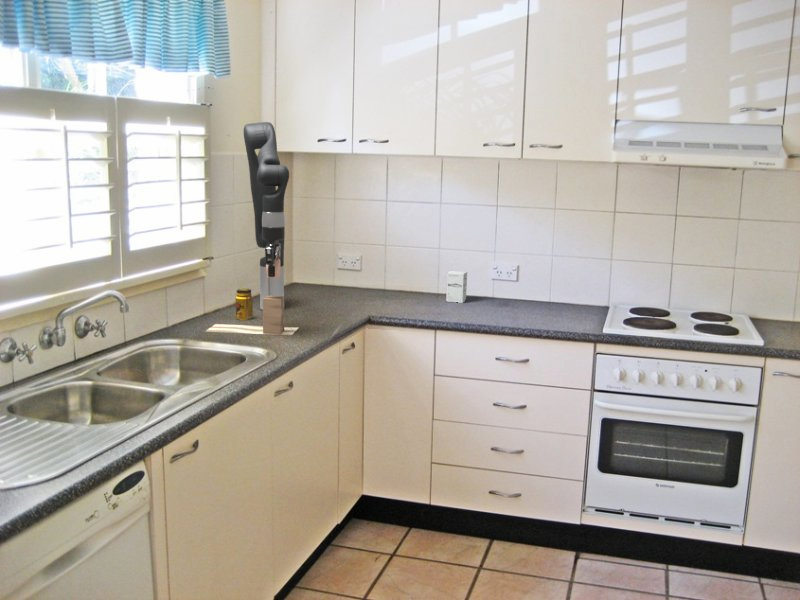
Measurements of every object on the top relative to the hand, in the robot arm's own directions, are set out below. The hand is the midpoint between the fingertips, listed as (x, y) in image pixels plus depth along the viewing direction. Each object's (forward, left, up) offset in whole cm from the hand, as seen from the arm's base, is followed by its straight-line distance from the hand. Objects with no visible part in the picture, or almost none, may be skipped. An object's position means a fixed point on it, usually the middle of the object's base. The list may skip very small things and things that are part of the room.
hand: (273, 275), depth 285 cm
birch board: (-3, -8, -21) cm, 22 cm away
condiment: (-20, -15, -21) cm, 33 cm away
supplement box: (-76, +61, -21) cm, 100 cm away
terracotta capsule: (0, 0, -1) cm, 1 cm away
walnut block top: (0, 0, -14) cm, 14 cm away
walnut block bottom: (0, 0, -20) cm, 20 cm away
